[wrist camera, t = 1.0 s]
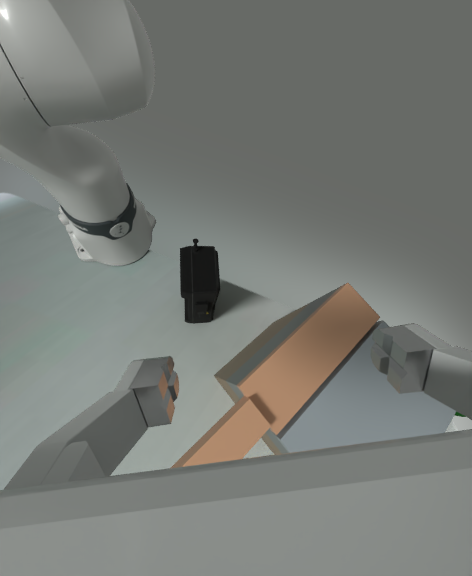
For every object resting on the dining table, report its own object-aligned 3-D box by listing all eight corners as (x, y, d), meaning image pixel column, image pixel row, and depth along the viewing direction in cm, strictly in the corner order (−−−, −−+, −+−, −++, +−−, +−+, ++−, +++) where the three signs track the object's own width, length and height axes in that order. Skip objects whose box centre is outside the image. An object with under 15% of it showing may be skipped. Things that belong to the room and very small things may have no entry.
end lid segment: (150, 466, 20) (145, 479, 18) (340, 286, 29) (352, 279, 27) (188, 523, 19) (188, 544, 17) (371, 319, 29) (386, 315, 26)
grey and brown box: (213, 375, 47) (239, 386, 22) (273, 322, 54) (348, 282, 28) (270, 449, 45) (373, 559, 19) (326, 384, 51) (460, 403, 26)
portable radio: (213, 326, 51) (230, 293, 27) (185, 328, 50) (179, 295, 26) (211, 293, 53) (226, 236, 30) (184, 294, 52) (179, 235, 29)
